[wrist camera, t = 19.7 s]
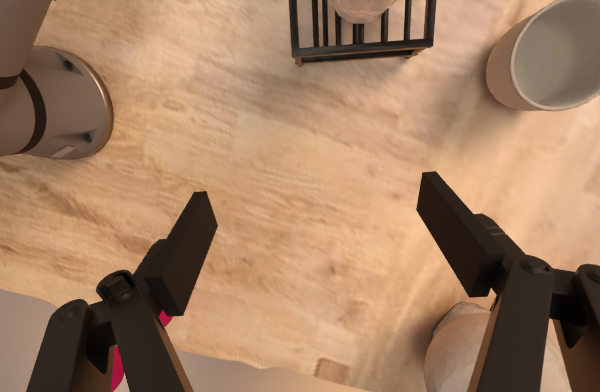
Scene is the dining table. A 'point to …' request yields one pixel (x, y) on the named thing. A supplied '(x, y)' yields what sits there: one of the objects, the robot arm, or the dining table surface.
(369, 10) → the white cup
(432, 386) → the ceramic pitcher
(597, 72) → the teacup
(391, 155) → the dining table surface
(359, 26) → the wire rack
